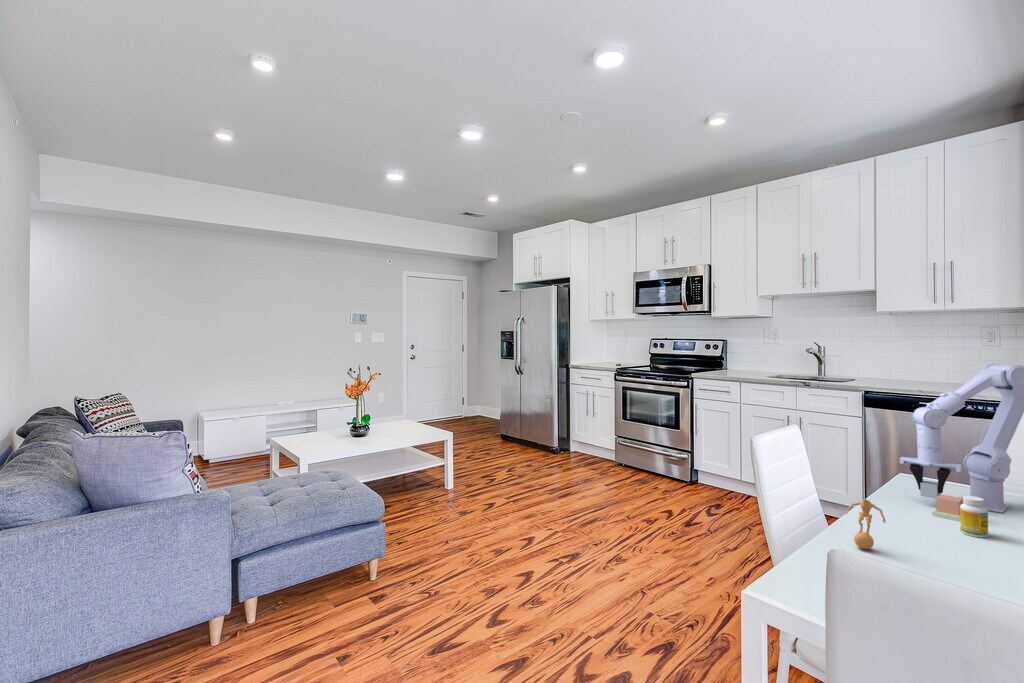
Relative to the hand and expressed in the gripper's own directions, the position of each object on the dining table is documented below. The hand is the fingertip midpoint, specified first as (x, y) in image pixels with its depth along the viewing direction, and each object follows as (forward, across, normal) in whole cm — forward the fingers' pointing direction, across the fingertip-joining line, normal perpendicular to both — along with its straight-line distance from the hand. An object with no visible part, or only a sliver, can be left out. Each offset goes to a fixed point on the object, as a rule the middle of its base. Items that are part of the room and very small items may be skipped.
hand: (930, 490), depth 151 cm
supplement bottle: (+5, +13, -19) cm, 24 cm away
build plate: (+5, +6, -7) cm, 10 cm away
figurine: (+4, -2, -50) cm, 50 cm away
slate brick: (+2, 0, 0) cm, 2 cm away
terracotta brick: (+3, +6, -7) cm, 9 cm away
